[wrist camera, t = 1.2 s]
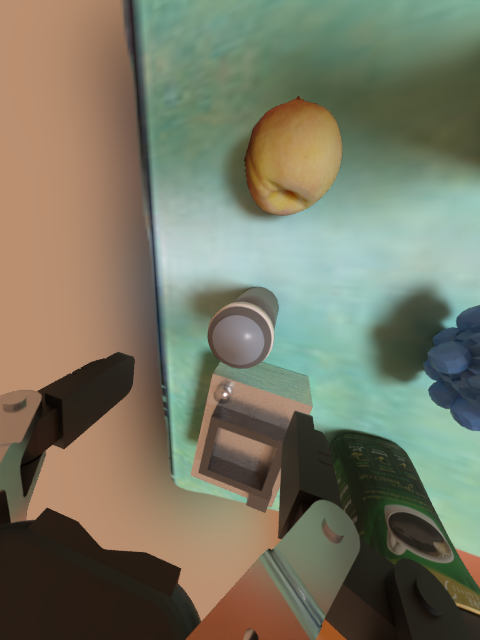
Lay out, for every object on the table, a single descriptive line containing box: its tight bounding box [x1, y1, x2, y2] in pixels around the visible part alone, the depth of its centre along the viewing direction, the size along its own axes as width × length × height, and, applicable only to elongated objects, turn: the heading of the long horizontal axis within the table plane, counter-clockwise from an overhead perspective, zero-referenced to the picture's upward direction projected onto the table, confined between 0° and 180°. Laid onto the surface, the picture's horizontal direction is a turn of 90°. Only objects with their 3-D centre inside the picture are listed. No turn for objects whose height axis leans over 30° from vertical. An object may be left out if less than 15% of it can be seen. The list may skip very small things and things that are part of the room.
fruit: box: [244, 96, 342, 215], centre depth 19 cm, size 8×8×8 cm
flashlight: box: [208, 287, 279, 369], centre depth 22 cm, size 5×5×11 cm
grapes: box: [423, 305, 480, 431], centre depth 19 cm, size 12×7×12 cm, turn 171°
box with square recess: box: [191, 362, 313, 512], centre depth 28 cm, size 16×11×8 cm
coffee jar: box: [330, 433, 480, 640], centre depth 21 cm, size 10×8×19 cm
